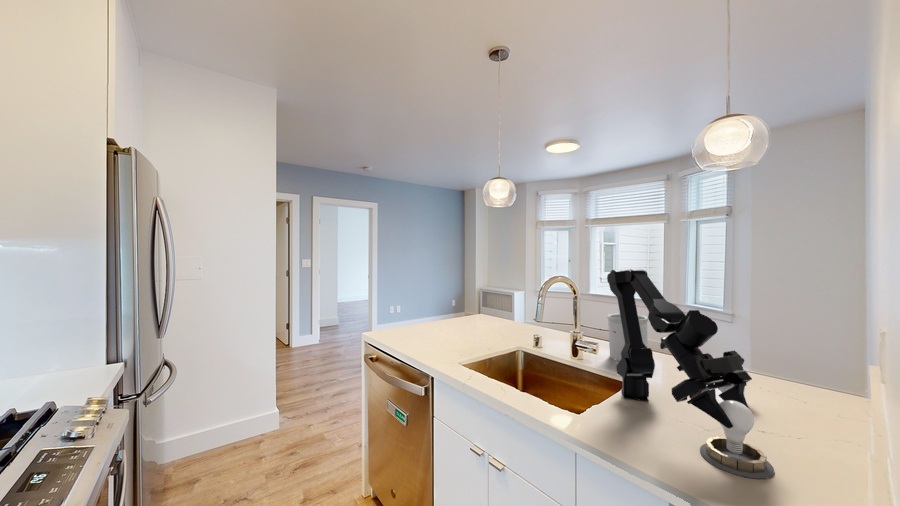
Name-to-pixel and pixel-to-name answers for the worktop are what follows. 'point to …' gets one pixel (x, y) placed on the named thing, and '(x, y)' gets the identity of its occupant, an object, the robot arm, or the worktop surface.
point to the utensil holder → (618, 338)
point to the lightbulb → (737, 424)
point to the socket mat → (763, 475)
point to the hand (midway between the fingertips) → (741, 424)
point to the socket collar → (733, 463)
